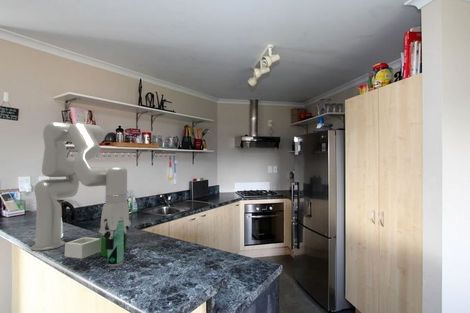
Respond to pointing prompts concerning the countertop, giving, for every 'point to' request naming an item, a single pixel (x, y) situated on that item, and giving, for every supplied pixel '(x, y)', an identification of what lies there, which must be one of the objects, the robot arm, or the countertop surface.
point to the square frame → (82, 247)
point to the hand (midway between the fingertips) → (115, 246)
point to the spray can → (117, 245)
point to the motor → (104, 251)
